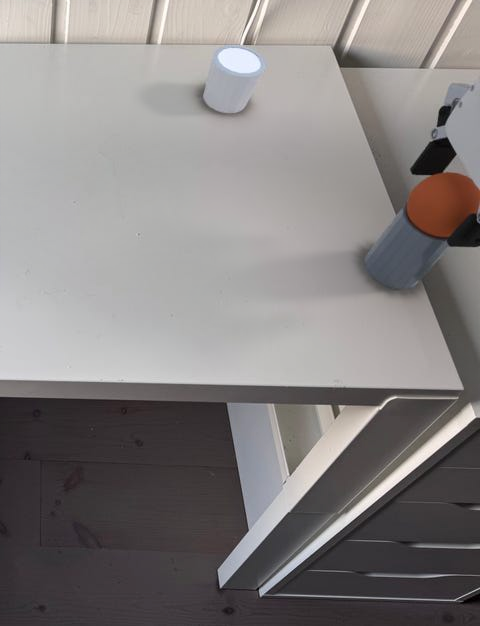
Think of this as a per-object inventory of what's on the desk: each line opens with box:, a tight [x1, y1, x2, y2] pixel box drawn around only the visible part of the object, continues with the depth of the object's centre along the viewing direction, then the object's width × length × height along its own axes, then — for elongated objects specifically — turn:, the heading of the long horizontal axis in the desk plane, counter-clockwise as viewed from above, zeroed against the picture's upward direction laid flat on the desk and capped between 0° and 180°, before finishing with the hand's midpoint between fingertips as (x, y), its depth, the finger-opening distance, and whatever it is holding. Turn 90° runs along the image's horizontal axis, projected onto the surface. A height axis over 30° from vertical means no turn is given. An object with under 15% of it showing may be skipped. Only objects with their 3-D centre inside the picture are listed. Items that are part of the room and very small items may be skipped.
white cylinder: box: [202, 44, 267, 114], centre depth 89 cm, size 7×7×7 cm
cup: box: [363, 201, 451, 291], centre depth 73 cm, size 6×6×9 cm
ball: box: [406, 171, 480, 237], centre depth 67 cm, size 6×6×6 cm
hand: (442, 207), depth 67 cm, fingers open, 9 cm apart
